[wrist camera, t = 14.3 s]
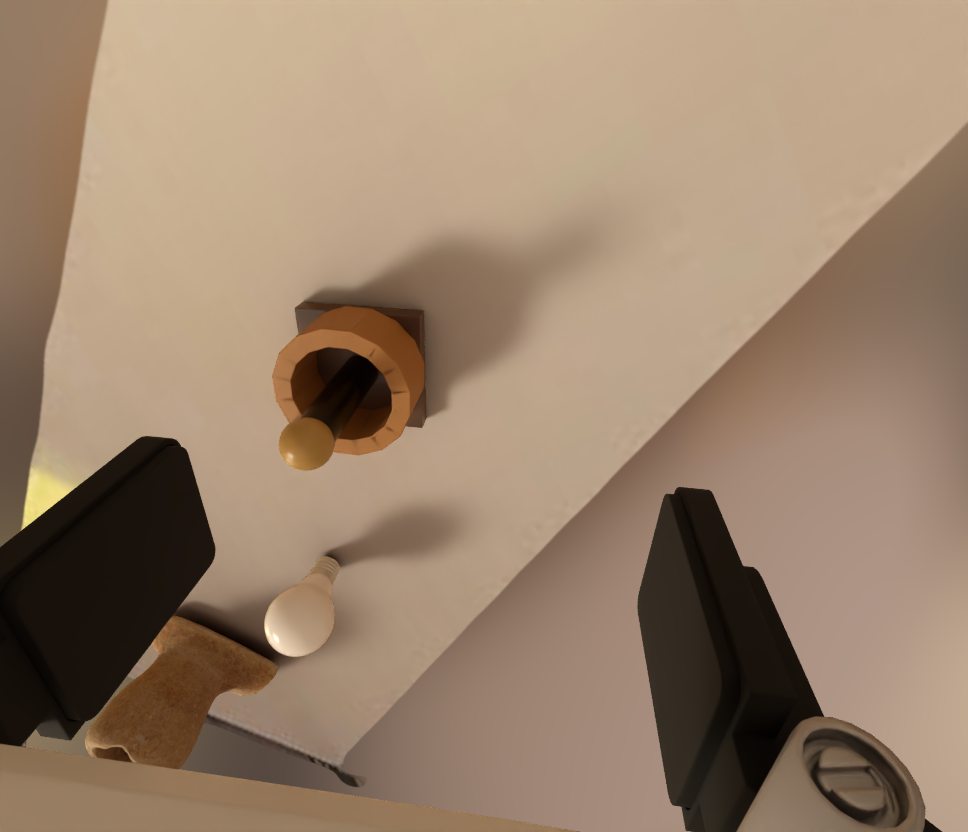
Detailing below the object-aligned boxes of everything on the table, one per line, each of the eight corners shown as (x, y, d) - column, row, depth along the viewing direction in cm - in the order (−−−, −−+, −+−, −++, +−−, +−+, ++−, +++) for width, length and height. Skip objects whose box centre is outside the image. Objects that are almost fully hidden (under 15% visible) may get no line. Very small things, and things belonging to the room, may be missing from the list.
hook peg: (339, 350, 43) (265, 432, 32) (380, 353, 43) (319, 437, 32) (343, 387, 45) (274, 478, 34) (382, 390, 45) (325, 483, 34)
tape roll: (293, 300, 42) (263, 322, 37) (425, 313, 41) (410, 337, 37) (307, 415, 47) (282, 446, 42) (423, 429, 46) (410, 462, 42)
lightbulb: (348, 537, 56) (306, 624, 46) (365, 580, 59) (329, 671, 49) (292, 540, 57) (240, 626, 47) (312, 583, 60) (266, 672, 50)
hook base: (302, 301, 43) (294, 307, 42) (423, 310, 42) (419, 317, 41) (317, 409, 48) (310, 417, 47) (426, 418, 47) (422, 428, 46)
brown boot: (148, 645, 69) (55, 767, 57) (174, 596, 64) (77, 720, 51) (253, 695, 72) (188, 822, 60) (287, 653, 67) (223, 783, 54)
